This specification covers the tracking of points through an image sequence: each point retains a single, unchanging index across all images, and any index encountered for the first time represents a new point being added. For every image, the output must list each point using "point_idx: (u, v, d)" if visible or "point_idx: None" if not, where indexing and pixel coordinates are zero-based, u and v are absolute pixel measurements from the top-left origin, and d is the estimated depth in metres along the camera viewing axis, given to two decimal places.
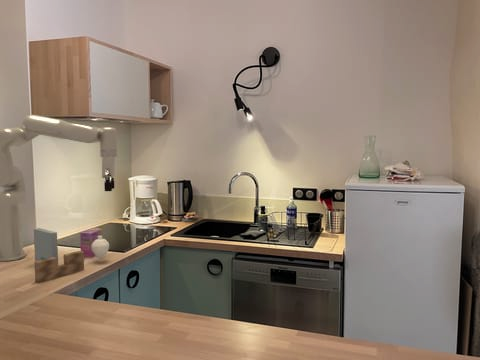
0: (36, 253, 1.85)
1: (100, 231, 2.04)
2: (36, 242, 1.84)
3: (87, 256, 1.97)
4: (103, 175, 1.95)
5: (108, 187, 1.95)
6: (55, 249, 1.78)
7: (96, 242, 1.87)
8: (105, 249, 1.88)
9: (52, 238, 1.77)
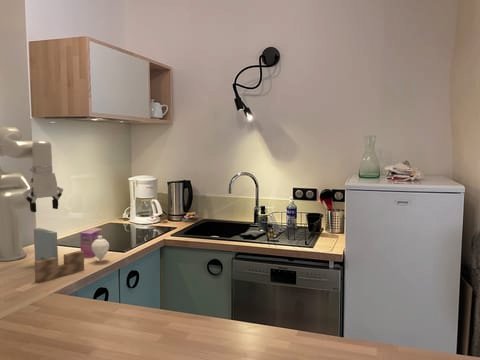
0: (36, 253, 1.85)
1: (100, 231, 2.04)
2: (36, 242, 1.84)
3: (87, 256, 1.97)
4: None
5: None
6: (55, 249, 1.78)
7: (96, 242, 1.87)
8: (105, 249, 1.88)
9: (52, 238, 1.77)
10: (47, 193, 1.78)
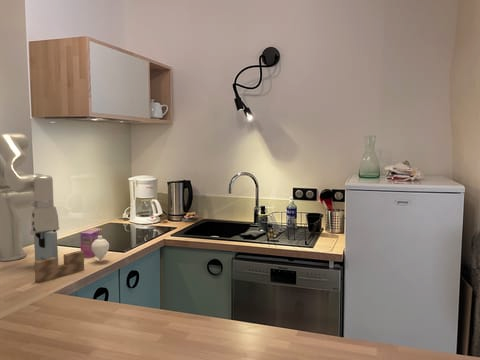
0: (36, 253, 1.85)
1: (100, 231, 2.04)
2: (36, 242, 1.84)
3: (87, 256, 1.97)
4: None
5: None
6: (55, 249, 1.78)
7: (96, 242, 1.87)
8: (105, 249, 1.88)
9: (52, 238, 1.77)
10: (48, 227, 1.80)
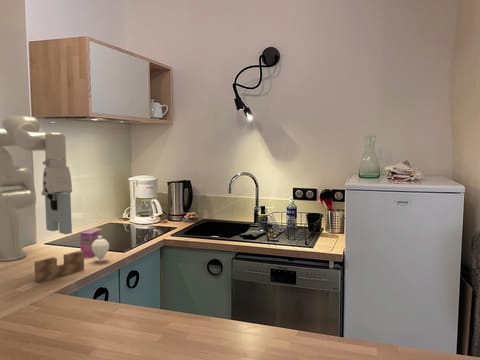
0: (47, 217, 1.72)
1: (100, 231, 2.04)
2: (48, 205, 1.71)
3: (87, 256, 1.97)
4: None
5: None
6: (68, 211, 1.66)
7: (96, 242, 1.87)
8: (105, 249, 1.88)
9: (65, 199, 1.64)
10: (61, 188, 1.67)
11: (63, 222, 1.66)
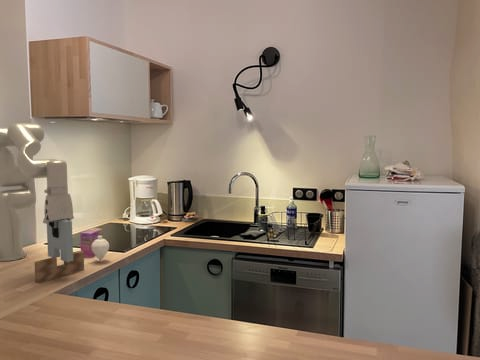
0: (49, 244, 1.73)
1: (100, 231, 2.04)
2: (49, 232, 1.72)
3: (87, 256, 1.97)
4: None
5: None
6: (70, 239, 1.66)
7: (96, 242, 1.87)
8: (105, 249, 1.88)
9: (66, 227, 1.65)
10: (62, 215, 1.68)
11: (64, 250, 1.66)
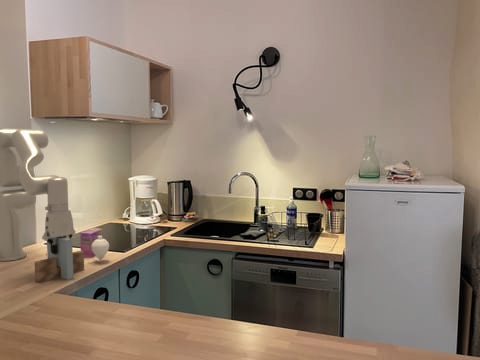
0: None
1: (100, 231, 2.04)
2: (49, 249, 1.73)
3: (87, 256, 1.97)
4: None
5: None
6: (70, 257, 1.67)
7: (96, 242, 1.87)
8: (105, 249, 1.88)
9: (67, 245, 1.66)
10: (63, 232, 1.68)
11: (65, 268, 1.67)
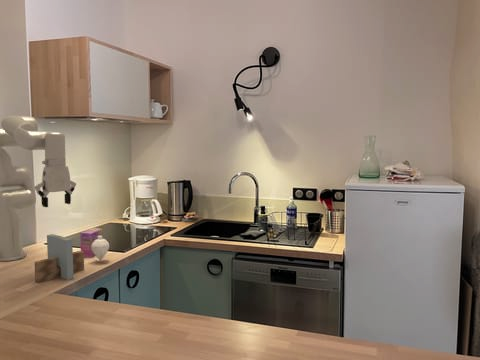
0: None
1: (100, 231, 2.04)
2: (49, 249, 1.73)
3: (87, 256, 1.97)
4: None
5: None
6: (70, 257, 1.67)
7: (96, 242, 1.87)
8: (105, 249, 1.88)
9: (67, 245, 1.66)
10: (60, 187, 1.69)
11: (65, 268, 1.67)
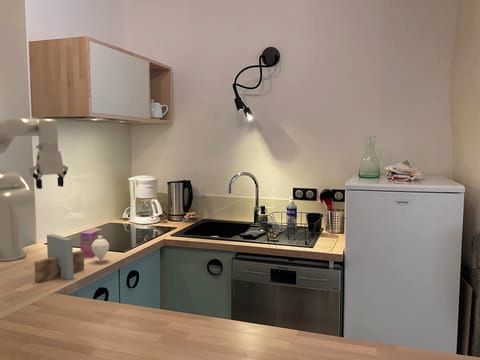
0: None
1: (100, 231, 2.04)
2: (50, 249, 1.73)
3: (87, 256, 1.97)
4: None
5: None
6: (70, 257, 1.67)
7: (96, 242, 1.87)
8: (105, 249, 1.88)
9: (67, 245, 1.66)
10: (53, 170, 1.80)
11: (65, 268, 1.67)
